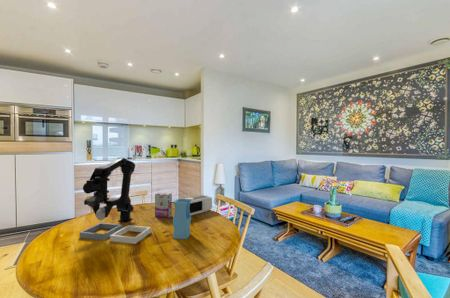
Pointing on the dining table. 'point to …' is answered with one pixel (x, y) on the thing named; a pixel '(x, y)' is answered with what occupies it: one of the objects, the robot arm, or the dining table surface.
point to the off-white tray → (133, 240)
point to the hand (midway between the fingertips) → (101, 216)
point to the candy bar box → (163, 205)
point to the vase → (182, 219)
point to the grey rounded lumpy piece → (100, 213)
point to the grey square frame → (97, 236)
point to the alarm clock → (200, 204)
